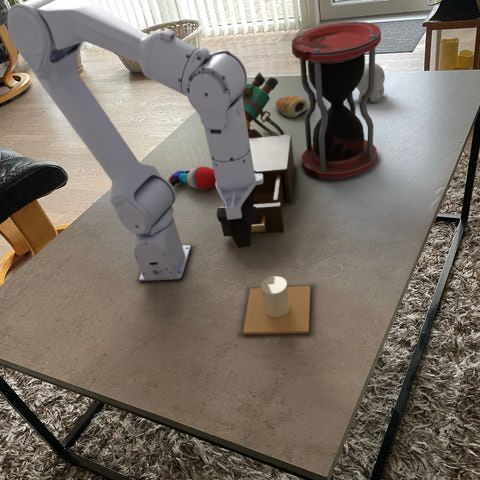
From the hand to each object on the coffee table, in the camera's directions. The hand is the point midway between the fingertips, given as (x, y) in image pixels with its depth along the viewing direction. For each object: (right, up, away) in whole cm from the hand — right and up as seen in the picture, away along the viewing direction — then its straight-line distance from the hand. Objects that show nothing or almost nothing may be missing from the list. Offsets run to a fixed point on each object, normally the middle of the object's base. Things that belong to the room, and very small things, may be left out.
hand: (245, 231), depth 77 cm
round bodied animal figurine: (+31, +44, +50) cm, 73 cm away
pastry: (+13, +41, +51) cm, 67 cm away
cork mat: (+5, -13, 0) cm, 14 cm away
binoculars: (+3, +29, +41) cm, 50 cm away
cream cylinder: (+5, -12, -1) cm, 13 cm away
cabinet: (+4, +15, +27) cm, 31 cm away
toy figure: (-11, +16, +32) cm, 38 cm away
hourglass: (+21, +21, +29) cm, 41 cm away
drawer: (+2, +5, +17) cm, 18 cm away
